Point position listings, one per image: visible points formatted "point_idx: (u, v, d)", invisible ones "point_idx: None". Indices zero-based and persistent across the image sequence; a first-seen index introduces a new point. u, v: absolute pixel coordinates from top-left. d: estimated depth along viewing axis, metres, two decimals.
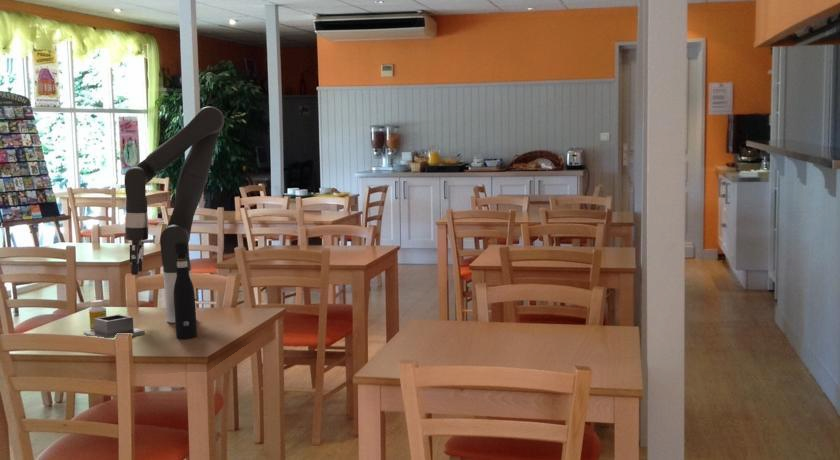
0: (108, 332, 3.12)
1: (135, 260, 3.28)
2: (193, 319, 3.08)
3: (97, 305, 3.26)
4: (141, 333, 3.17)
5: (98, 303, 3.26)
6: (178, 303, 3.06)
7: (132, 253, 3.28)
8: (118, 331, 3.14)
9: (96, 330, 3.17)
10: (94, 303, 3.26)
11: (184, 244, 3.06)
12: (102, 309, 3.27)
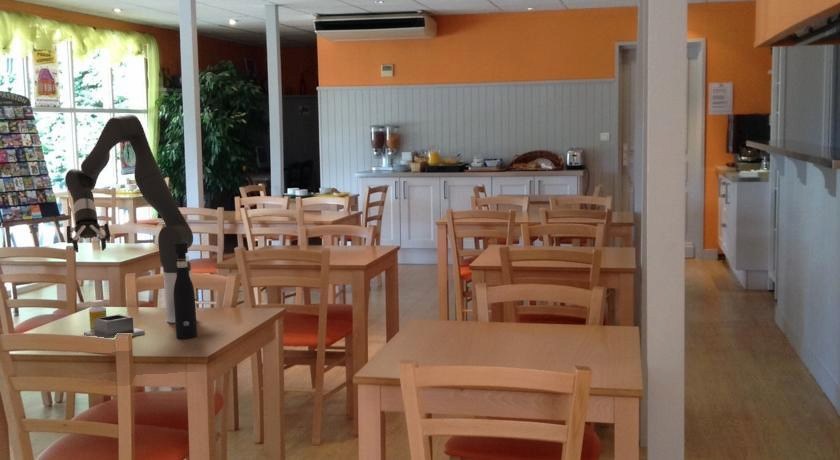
0: (108, 332, 3.12)
1: (67, 238, 3.37)
2: (193, 319, 3.08)
3: (97, 305, 3.26)
4: (141, 333, 3.17)
5: (98, 303, 3.26)
6: (178, 303, 3.06)
7: None
8: (118, 331, 3.14)
9: (96, 330, 3.17)
10: (94, 303, 3.26)
11: (184, 244, 3.06)
12: (102, 309, 3.27)
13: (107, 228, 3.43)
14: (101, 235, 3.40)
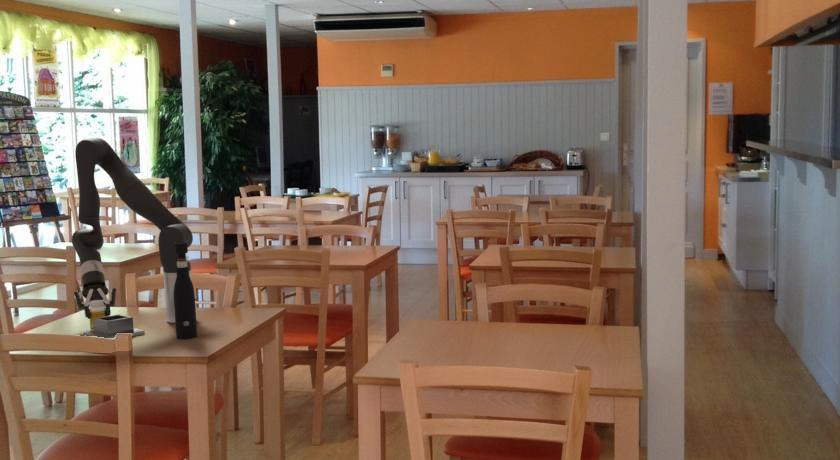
0: (108, 332, 3.12)
1: (78, 304, 3.27)
2: (193, 319, 3.08)
3: (97, 305, 3.26)
4: (141, 333, 3.17)
5: (98, 303, 3.26)
6: (178, 302, 3.06)
7: (76, 301, 3.29)
8: (118, 331, 3.14)
9: (96, 330, 3.17)
10: (94, 303, 3.26)
11: (184, 244, 3.06)
12: (102, 309, 3.27)
13: (114, 293, 3.33)
14: (105, 301, 3.30)
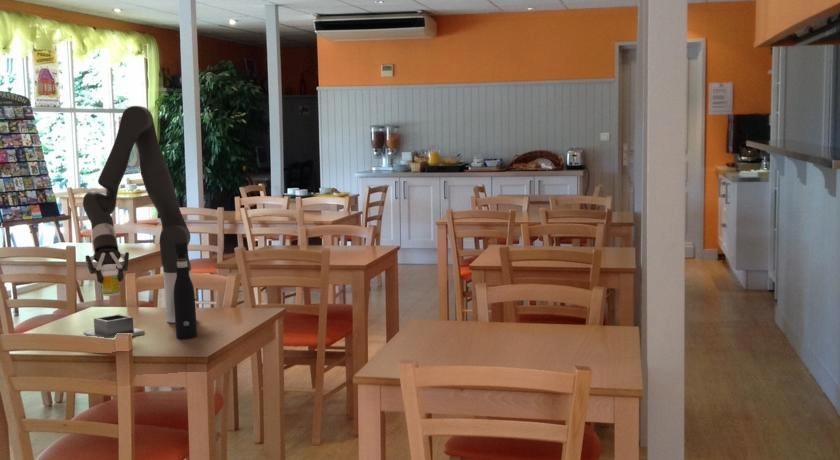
0: (108, 332, 3.12)
1: (90, 268, 3.15)
2: (193, 319, 3.08)
3: (109, 269, 3.14)
4: (141, 333, 3.17)
5: (110, 267, 3.14)
6: (178, 303, 3.06)
7: (87, 265, 3.17)
8: (118, 331, 3.14)
9: (96, 330, 3.17)
10: (106, 267, 3.14)
11: (184, 244, 3.06)
12: (115, 273, 3.15)
13: (127, 257, 3.21)
14: (118, 265, 3.18)
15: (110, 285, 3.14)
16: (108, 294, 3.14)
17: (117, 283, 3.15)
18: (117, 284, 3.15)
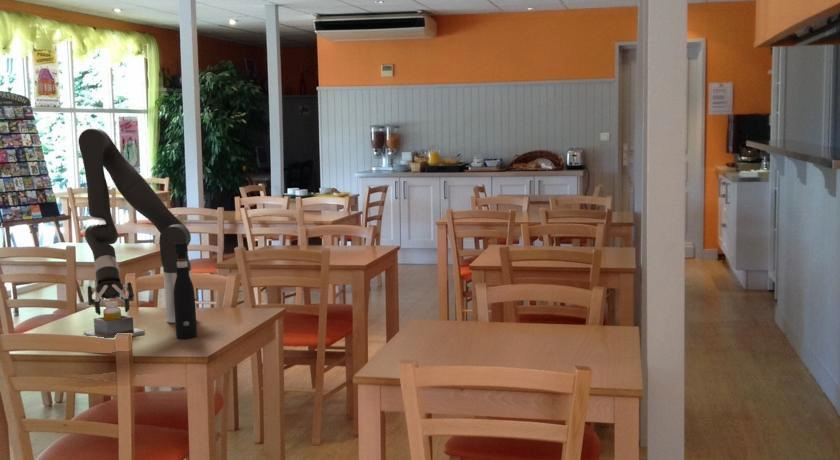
0: (108, 332, 3.12)
1: None
2: (193, 319, 3.08)
3: (112, 306, 3.15)
4: (141, 333, 3.17)
5: (113, 304, 3.15)
6: (178, 303, 3.06)
7: None
8: (118, 331, 3.14)
9: (96, 330, 3.17)
10: (109, 304, 3.15)
11: (184, 244, 3.06)
12: (117, 310, 3.16)
13: (130, 287, 3.22)
14: (124, 295, 3.19)
15: None
16: None
17: None
18: None
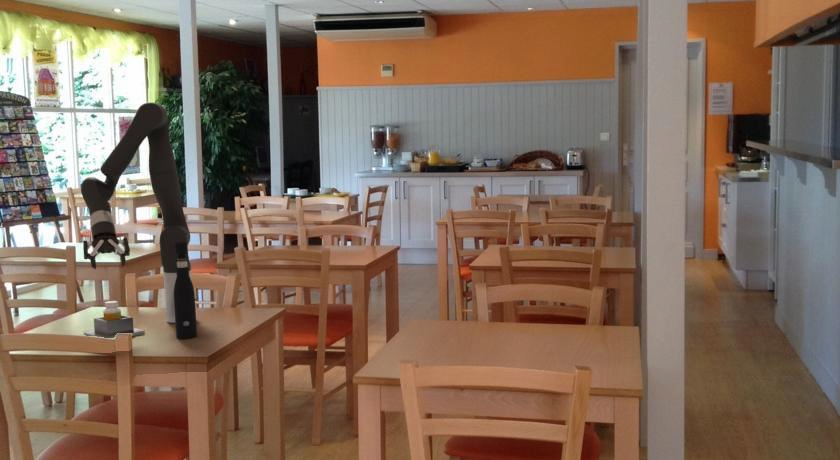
0: (108, 332, 3.12)
1: (84, 254, 3.15)
2: (193, 319, 3.08)
3: (112, 306, 3.15)
4: (141, 333, 3.17)
5: (113, 304, 3.15)
6: (178, 303, 3.06)
7: (83, 250, 3.17)
8: (118, 331, 3.14)
9: (96, 330, 3.17)
10: (108, 304, 3.15)
11: (184, 244, 3.06)
12: (117, 310, 3.16)
13: (126, 242, 3.21)
14: (120, 250, 3.19)
15: None
16: None
17: None
18: None
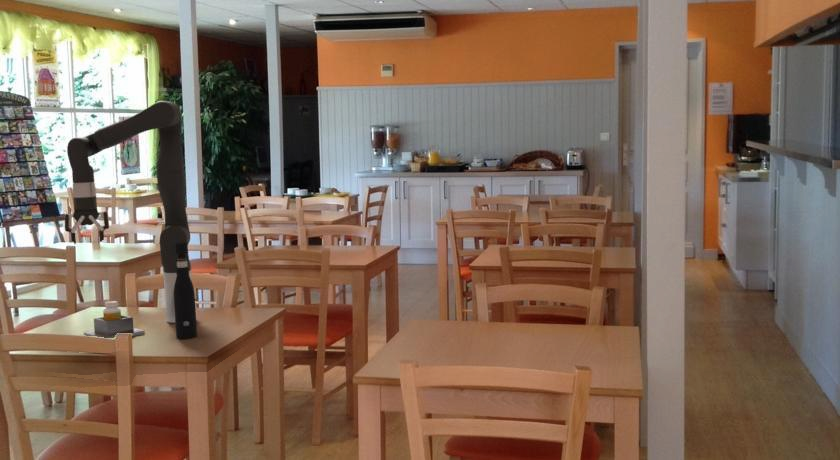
0: (108, 332, 3.12)
1: (65, 229, 3.34)
2: (193, 319, 3.08)
3: (111, 306, 3.15)
4: (141, 333, 3.17)
5: (113, 304, 3.15)
6: (178, 303, 3.06)
7: None
8: (118, 331, 3.14)
9: (96, 330, 3.17)
10: (108, 304, 3.15)
11: (184, 244, 3.06)
12: (117, 310, 3.16)
13: (106, 218, 3.39)
14: (100, 227, 3.38)
15: None
16: None
17: None
18: None
